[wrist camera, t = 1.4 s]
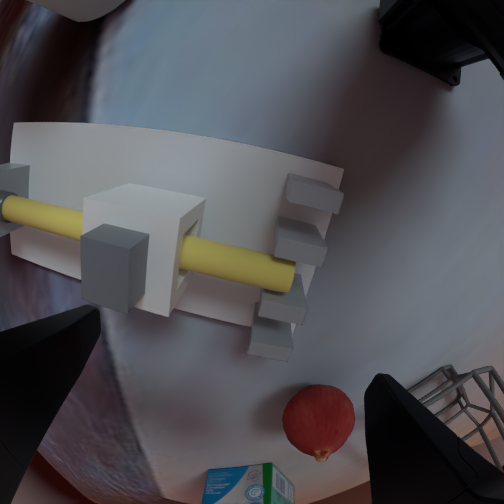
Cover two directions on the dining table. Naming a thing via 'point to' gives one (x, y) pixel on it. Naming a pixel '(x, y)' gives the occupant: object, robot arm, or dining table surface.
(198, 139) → the linear slider
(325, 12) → the dining table surface
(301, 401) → the onion
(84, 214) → the sleeve
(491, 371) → the geometric lantern
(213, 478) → the milk carton
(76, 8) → the can
